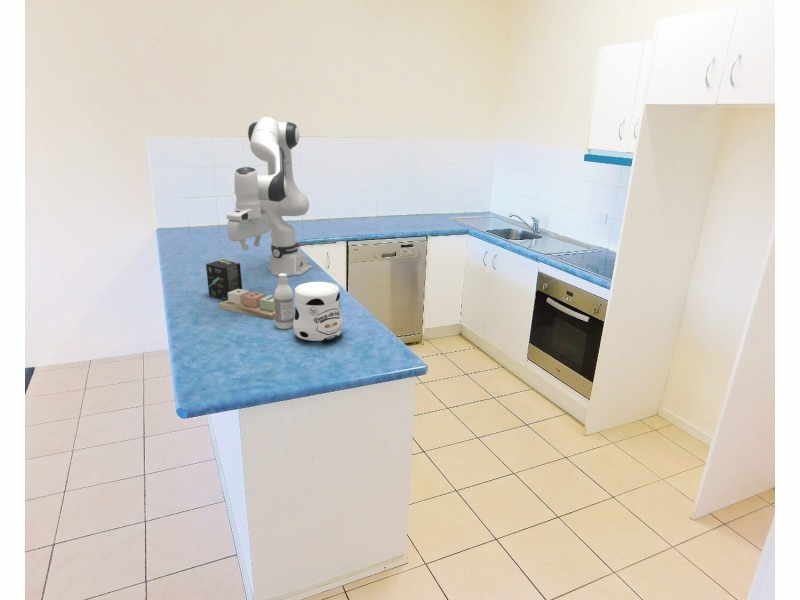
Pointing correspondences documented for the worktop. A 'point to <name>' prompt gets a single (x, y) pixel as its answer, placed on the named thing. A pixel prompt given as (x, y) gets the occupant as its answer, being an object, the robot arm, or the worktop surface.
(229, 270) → the tampon box
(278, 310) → the bath foam
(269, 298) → the toy block
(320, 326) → the milk container
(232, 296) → the toy block
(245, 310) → the board
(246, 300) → the toy block
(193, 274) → the worktop surface
